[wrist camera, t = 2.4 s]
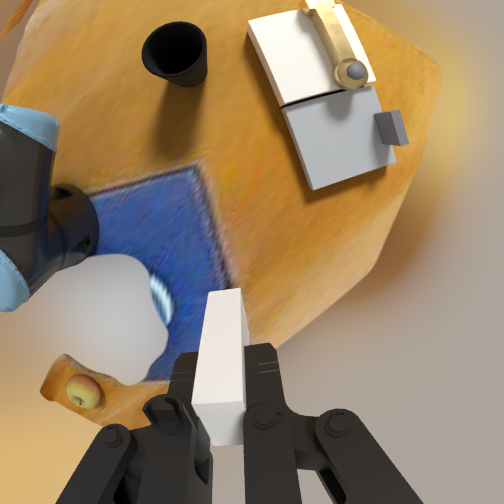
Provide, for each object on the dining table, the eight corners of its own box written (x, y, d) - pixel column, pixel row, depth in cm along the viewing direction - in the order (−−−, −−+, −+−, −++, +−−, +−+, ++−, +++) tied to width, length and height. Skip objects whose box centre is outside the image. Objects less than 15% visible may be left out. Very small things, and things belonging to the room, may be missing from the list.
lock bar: (338, 93, 34) (345, 90, 31) (297, 4, 28) (301, -4, 25) (364, 87, 33) (372, 84, 30) (324, 1, 28) (330, -7, 25)
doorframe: (308, 187, 44) (325, 198, 35) (246, 31, 33) (249, 7, 25) (387, 160, 42) (417, 167, 34) (332, 14, 32) (351, -8, 24)
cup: (221, 55, 35) (216, 27, 24) (205, 98, 38) (193, 83, 26) (174, 46, 34) (155, 18, 23) (158, 88, 36) (132, 72, 25)
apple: (97, 398, 62) (89, 419, 54) (68, 379, 59) (58, 399, 51) (109, 384, 59) (100, 407, 52) (77, 363, 56) (65, 384, 49)
